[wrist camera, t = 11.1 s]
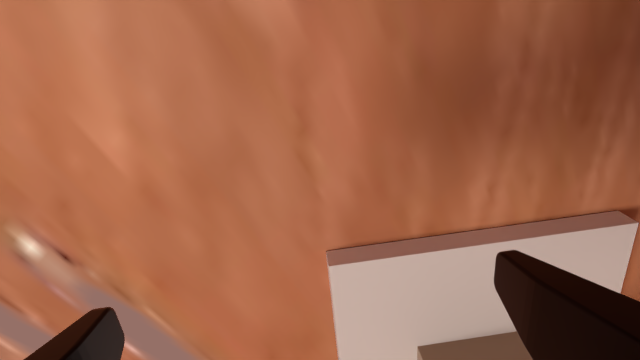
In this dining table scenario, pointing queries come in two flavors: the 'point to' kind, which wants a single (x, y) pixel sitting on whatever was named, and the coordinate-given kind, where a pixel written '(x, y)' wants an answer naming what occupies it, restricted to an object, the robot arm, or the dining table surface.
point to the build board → (460, 287)
